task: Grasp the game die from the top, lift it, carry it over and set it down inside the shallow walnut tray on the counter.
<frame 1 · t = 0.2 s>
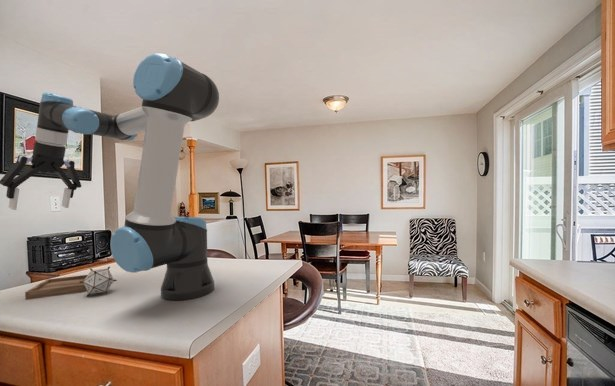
hand: (40, 207, 93), 27 cm above the counter, tool tilted 20°, fingers open, 13 cm apart
walnut tray: (66, 288, 96), on the counter
game die: (99, 294, 89), on the counter
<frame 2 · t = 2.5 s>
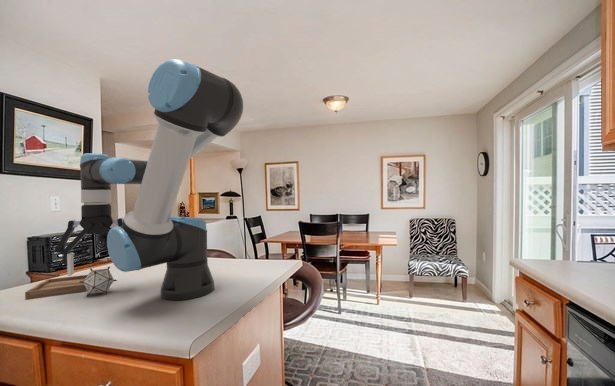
hand: (97, 271, 89), 7 cm above the counter, tool pointing down, fingers open, 13 cm apart
nothing on the counter moved.
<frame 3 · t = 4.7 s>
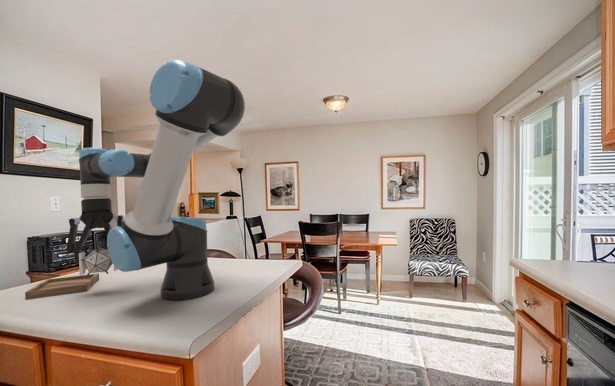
hand: (99, 271, 89), 7 cm above the counter, tool pointing down, fingers closed on game die, 8 cm apart
game die: (99, 274, 89), point 6 cm above the counter, touching gripper
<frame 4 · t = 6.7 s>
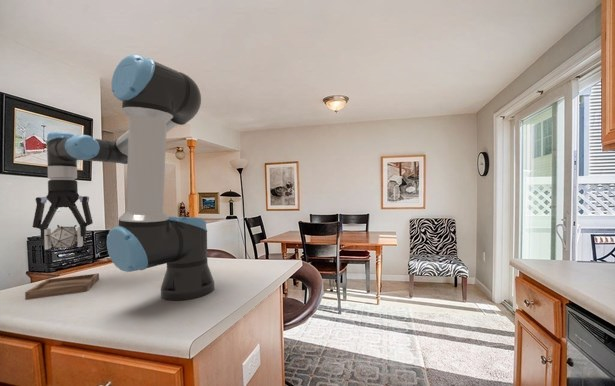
hand: (64, 247, 96), 14 cm above the counter, tool pointing down, fingers closed on game die, 8 cm apart
game die: (63, 249, 96), point 13 cm above the counter, touching gripper
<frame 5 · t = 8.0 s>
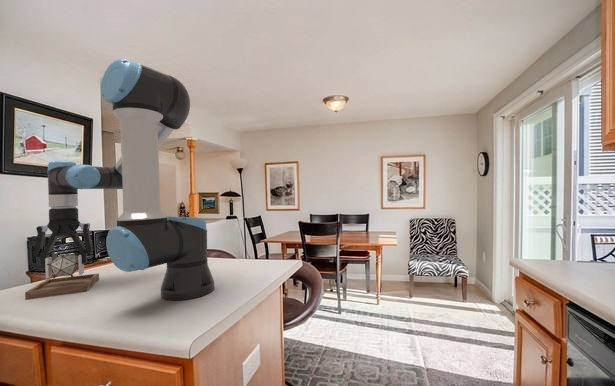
hand: (65, 275, 96), 4 cm above the counter, tool pointing down, fingers closed on game die, 8 cm apart
game die: (64, 277, 96), point 4 cm above the counter, touching gripper
when the fingers open (2 cm above the counter, at t = 8.8 s): game die stays where it is, resting on walnut tray.
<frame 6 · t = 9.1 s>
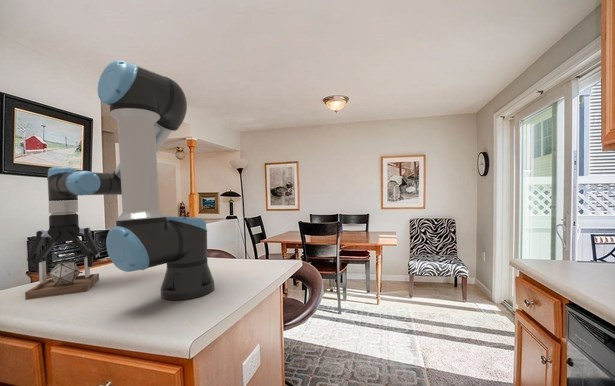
hand: (65, 279, 96), 3 cm above the counter, tool pointing down, fingers open, 11 cm apart
game die: (65, 285, 96), point 1 cm above the counter, touching walnut tray
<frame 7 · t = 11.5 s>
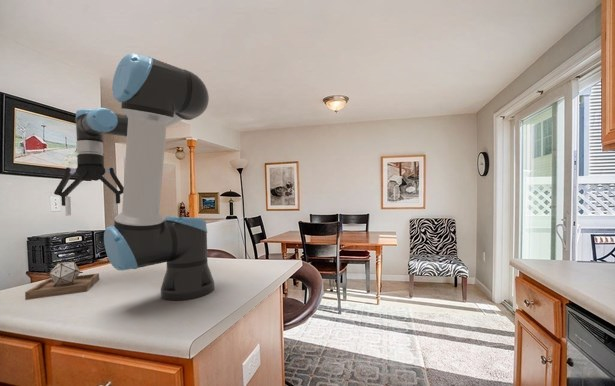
hand: (92, 214, 102), 24 cm above the counter, tool pointing down, fingers open, 13 cm apart
nothing on the counter moved.
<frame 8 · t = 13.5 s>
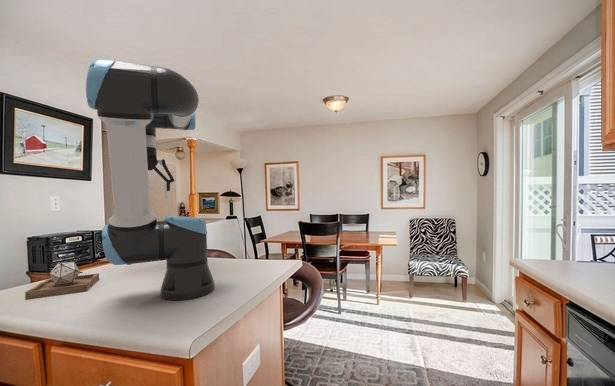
hand: (147, 199, 116), 29 cm above the counter, tool pointing down, fingers open, 13 cm apart
nothing on the counter moved.
at the end: game die inside the target area on the walnut tray (0.2 cm from its centre), point 1.0 cm above the walnut tray's base; game die touching walnut tray; the gripper is holding nothing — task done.
